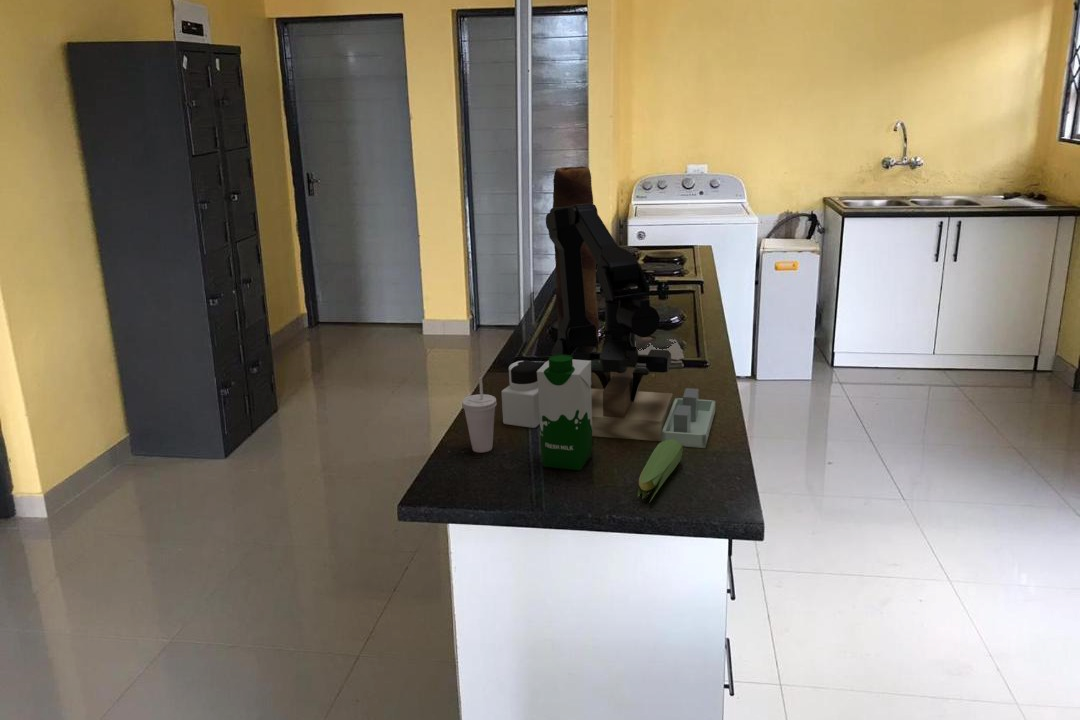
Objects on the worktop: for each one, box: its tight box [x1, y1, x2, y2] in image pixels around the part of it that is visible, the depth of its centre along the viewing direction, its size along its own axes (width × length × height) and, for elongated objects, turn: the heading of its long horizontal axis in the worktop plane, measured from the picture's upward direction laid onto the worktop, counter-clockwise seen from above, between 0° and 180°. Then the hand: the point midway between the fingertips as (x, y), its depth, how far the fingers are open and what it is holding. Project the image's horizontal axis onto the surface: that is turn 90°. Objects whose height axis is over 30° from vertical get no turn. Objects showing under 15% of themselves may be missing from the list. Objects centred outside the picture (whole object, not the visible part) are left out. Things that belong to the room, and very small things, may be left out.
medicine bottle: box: [500, 360, 540, 429], centre depth 172 cm, size 7×7×12 cm
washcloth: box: [638, 338, 685, 370], centre depth 208 cm, size 12×18×3 cm, turn 1°
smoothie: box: [461, 377, 497, 453], centre depth 159 cm, size 6×6×14 cm
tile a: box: [682, 387, 699, 422], centre depth 170 cm, size 5×5×2 cm
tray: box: [661, 397, 716, 449], centre depth 166 cm, size 8×18×2 cm, turn 164°
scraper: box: [603, 367, 639, 418], centre depth 169 cm, size 4×14×5 cm, turn 163°
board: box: [591, 388, 674, 442], centre depth 170 cm, size 17×15×4 cm
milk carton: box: [537, 354, 593, 471], centre depth 152 cm, size 9×9×20 cm
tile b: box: [674, 405, 691, 433], centre depth 162 cm, size 5×5×2 cm
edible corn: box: [637, 440, 684, 503], centre depth 145 cm, size 5×20×5 cm
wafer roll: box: [552, 166, 600, 348], centre depth 210 cm, size 10×11×45 cm
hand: (621, 400), depth 169 cm, fingers open, 4 cm apart
